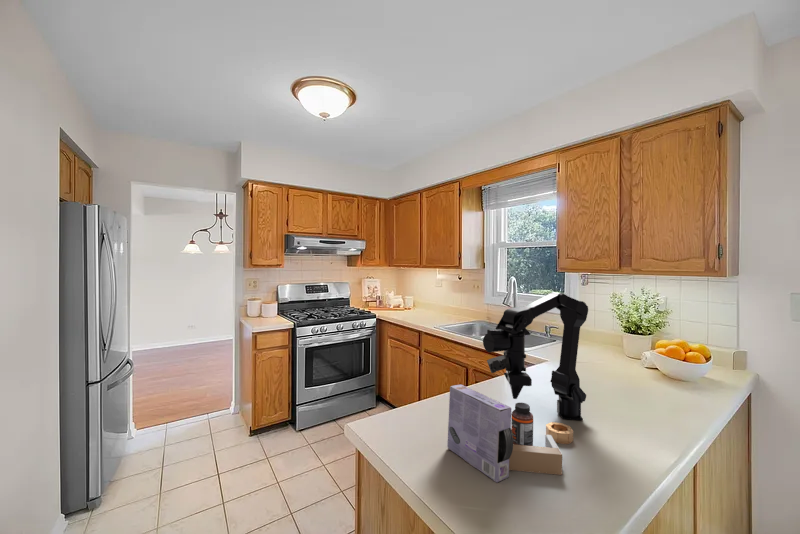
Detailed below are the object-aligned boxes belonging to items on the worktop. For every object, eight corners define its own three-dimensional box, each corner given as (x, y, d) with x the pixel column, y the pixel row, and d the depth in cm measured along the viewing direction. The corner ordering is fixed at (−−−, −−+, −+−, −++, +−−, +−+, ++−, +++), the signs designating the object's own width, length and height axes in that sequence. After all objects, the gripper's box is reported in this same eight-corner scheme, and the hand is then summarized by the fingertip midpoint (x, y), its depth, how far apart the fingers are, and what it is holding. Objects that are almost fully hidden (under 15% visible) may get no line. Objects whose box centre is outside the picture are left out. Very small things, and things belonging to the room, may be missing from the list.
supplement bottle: (507, 439, 100) (508, 401, 100) (526, 438, 101) (527, 400, 101) (516, 450, 94) (517, 409, 94) (537, 449, 95) (537, 408, 95)
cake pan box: (514, 479, 81) (514, 406, 81) (500, 486, 78) (500, 411, 78) (459, 443, 97) (459, 382, 97) (446, 449, 95) (446, 386, 95)
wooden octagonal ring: (567, 433, 104) (567, 423, 104) (575, 444, 97) (575, 434, 97) (544, 431, 105) (544, 421, 105) (550, 442, 98) (550, 432, 98)
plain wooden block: (551, 447, 96) (551, 429, 96) (566, 475, 83) (566, 455, 83) (492, 442, 98) (493, 425, 98) (498, 469, 85) (499, 449, 85)
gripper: (485, 341, 117) (485, 386, 117) (492, 356, 99) (492, 409, 99) (519, 343, 116) (519, 388, 116) (532, 357, 97) (531, 411, 97)
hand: (514, 398), depth 107 cm, fingers closed
